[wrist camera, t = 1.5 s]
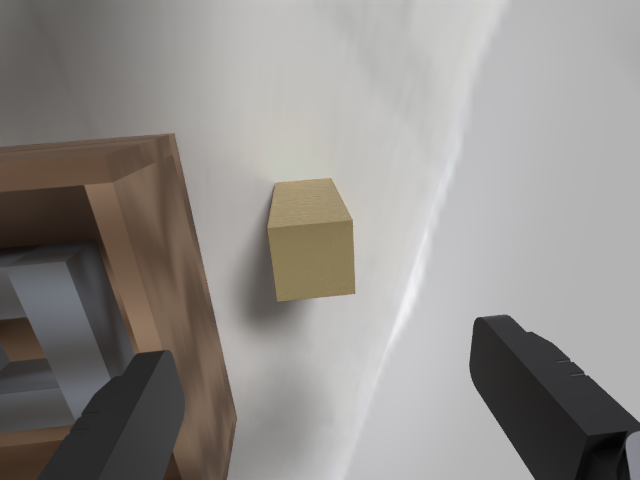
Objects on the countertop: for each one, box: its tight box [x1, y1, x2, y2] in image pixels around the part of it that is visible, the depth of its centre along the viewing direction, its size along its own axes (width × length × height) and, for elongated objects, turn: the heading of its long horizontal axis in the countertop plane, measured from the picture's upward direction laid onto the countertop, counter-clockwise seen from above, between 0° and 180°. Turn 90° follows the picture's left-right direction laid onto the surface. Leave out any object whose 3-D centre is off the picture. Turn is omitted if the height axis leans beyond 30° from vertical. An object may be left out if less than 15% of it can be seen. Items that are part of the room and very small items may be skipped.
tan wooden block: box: [267, 178, 355, 302], centre depth 18 cm, size 3×3×8 cm
